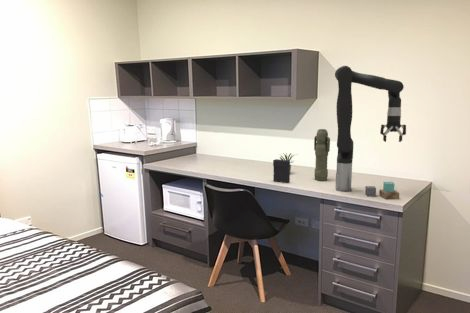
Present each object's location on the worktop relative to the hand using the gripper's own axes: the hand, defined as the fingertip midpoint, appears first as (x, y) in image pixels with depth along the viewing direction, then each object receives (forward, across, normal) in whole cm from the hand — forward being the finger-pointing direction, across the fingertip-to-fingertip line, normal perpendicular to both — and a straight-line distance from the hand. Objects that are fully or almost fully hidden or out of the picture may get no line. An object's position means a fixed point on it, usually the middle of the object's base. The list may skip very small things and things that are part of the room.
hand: (392, 141), depth 233 cm
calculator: (+30, -67, +15) cm, 75 cm away
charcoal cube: (+30, -14, -14) cm, 36 cm away
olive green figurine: (+30, -40, +24) cm, 56 cm away
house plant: (+30, -63, +43) cm, 82 cm away
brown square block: (+30, -4, -17) cm, 35 cm away
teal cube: (+26, -5, -17) cm, 32 cm away
